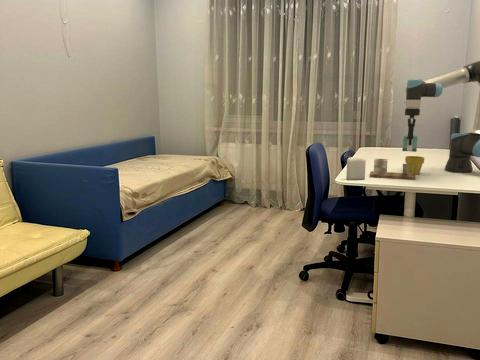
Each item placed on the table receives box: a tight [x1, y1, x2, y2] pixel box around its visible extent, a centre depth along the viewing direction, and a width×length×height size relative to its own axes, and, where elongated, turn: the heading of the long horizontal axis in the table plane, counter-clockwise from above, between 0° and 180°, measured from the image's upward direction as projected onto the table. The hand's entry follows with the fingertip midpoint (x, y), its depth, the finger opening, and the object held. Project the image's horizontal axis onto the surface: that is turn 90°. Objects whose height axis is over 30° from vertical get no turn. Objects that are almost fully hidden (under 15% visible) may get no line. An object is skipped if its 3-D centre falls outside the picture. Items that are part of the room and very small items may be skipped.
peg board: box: [369, 157, 417, 181], centre depth 246 cm, size 24×12×10 cm, turn 71°
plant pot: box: [404, 155, 425, 175], centre depth 257 cm, size 10×10×10 cm
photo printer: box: [345, 156, 367, 180], centre depth 238 cm, size 10×4×12 cm, turn 96°
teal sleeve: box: [401, 135, 418, 153], centre depth 240 cm, size 7×7×8 cm
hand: (409, 150), depth 241 cm, fingers closed on teal sleeve, 7 cm apart
